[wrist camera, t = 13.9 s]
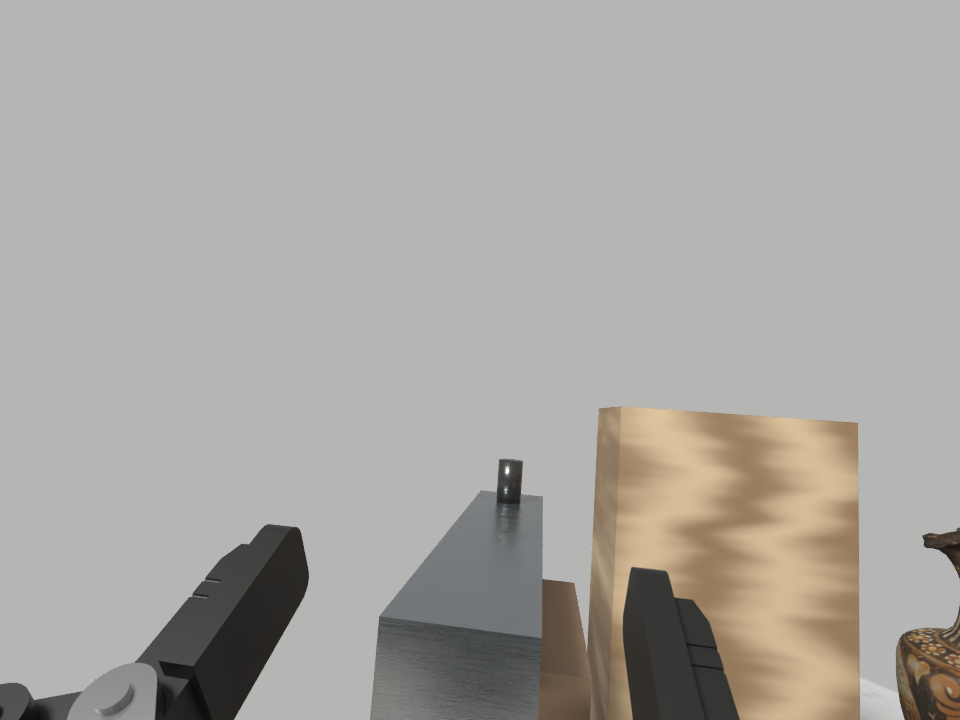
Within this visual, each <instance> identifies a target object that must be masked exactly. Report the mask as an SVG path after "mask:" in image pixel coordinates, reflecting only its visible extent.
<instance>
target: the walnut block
mask: <svg viewBox="0 0 960 720" xmlns="http://www.w3.org/2000/svg"><path fill="white" fill-rule="evenodd" d="M591 687H592V677H591V672H590V666H589V661H588V655H587V650H586V645H585V640H584V634H583V628H582V623H581V618H580V612H579V607H578V601H577V596H576V590H575V585H574V583H570V582H562V581H553V580H545V579H542V648H541V665H540V683H539V701H538V718H537V720H590V709H591Z"/></svg>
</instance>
